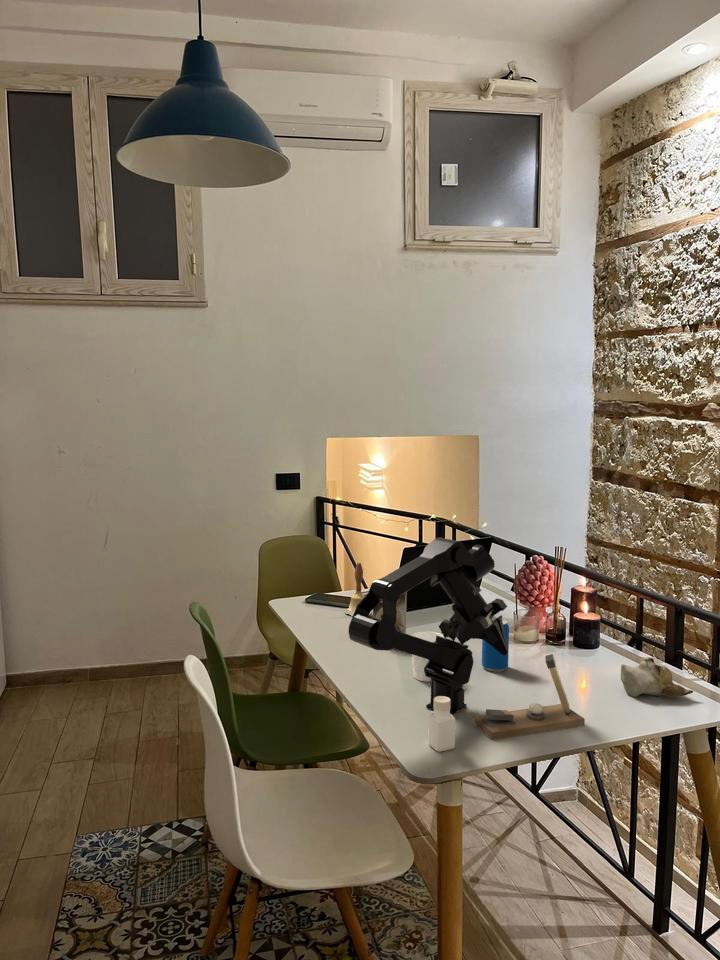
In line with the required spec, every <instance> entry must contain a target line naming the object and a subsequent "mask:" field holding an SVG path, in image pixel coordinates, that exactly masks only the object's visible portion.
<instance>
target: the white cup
mask: <svg viewBox="0 0 720 960" xmlns="http://www.w3.org/2000/svg"><path fill="white" fill-rule="evenodd" d="M410 635H411V636H414V637H417V638H420V639H423V640H426V641H429V642H435V641H436V636H440V637H443V638H444V636H443V634H442V633H439V632H437V631H436V632H435V631H419V632H415V633H412V634H410ZM428 661H429V660H428V659H425V658H422V657H419V656H415V655H412V654H411V664H412V675H413V678H414V679H415V680H417V681H420V682H427V683H429V682H430V683H431V678H429V677H426V676H425V672H424V667H425V666H426V664H427V663H428Z"/></svg>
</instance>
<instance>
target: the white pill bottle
mask: <svg viewBox="0 0 720 960" xmlns="http://www.w3.org/2000/svg"><path fill="white" fill-rule="evenodd" d="M450 703H451V700H450V698H448V697H445V696H437V697H435V698H434V703H433V708H434V710H433V712H432V713H430V714H429V715H428V725H427V726H428V727H427V729H428V735H427V737H428V738H427V739H428V740H427V742H428V745H429V746H430V747H431V748H432V749H434V750H435V751H436V752H439V753H440V752H445V751H451V750H453V749H455V747H456V746H455V745H456V737H455V736H456V718H455V717H454V716H453V714H452V715H451V714H450V705H451V704H450Z"/></svg>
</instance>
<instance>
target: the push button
mask: <svg viewBox="0 0 720 960" xmlns="http://www.w3.org/2000/svg"><path fill="white" fill-rule="evenodd" d="M542 707H543V705H542V704H540V703H535V702H533V703H530V704H528V709H529V712H530V713H533V714H541V713H542Z"/></svg>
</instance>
